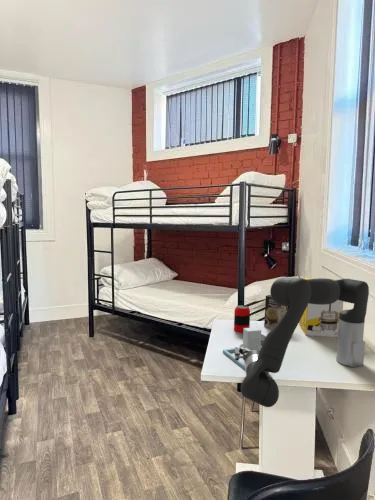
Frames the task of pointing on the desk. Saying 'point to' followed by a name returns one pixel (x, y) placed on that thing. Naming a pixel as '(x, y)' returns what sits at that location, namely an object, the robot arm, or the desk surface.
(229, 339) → the desk surface
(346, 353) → the robot arm
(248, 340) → the skincare box
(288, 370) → the desk surface
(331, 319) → the packaging box
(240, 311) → the soda can
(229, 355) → the frame
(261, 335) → the ink pad
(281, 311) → the coffee box
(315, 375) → the desk surface
